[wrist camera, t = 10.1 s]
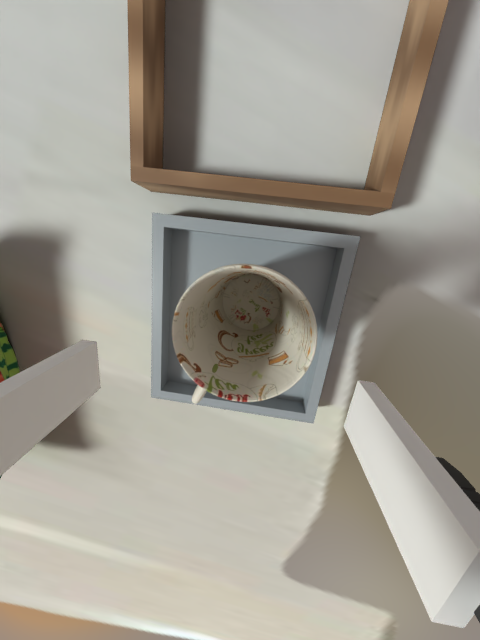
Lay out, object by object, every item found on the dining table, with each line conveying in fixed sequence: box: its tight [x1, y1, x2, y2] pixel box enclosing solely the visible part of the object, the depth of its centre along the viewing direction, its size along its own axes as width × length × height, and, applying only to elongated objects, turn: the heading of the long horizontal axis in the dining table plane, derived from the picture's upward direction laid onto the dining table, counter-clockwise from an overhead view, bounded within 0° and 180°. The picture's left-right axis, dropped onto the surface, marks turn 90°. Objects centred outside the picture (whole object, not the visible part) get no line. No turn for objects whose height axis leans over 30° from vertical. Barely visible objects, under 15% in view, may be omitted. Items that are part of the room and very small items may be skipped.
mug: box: [172, 264, 317, 404], centre depth 19 cm, size 8×13×10 cm, turn 151°
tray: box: [151, 213, 360, 423], centre depth 23 cm, size 18×17×2 cm
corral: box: [128, 0, 449, 215], centre depth 17 cm, size 18×20×4 cm
